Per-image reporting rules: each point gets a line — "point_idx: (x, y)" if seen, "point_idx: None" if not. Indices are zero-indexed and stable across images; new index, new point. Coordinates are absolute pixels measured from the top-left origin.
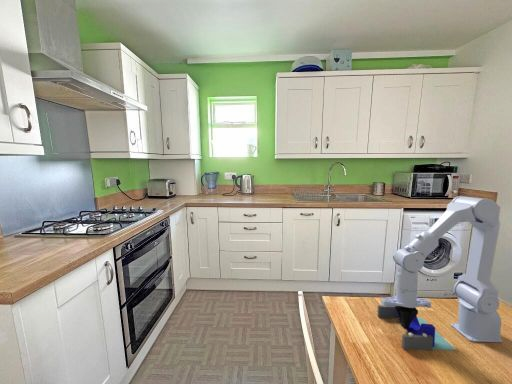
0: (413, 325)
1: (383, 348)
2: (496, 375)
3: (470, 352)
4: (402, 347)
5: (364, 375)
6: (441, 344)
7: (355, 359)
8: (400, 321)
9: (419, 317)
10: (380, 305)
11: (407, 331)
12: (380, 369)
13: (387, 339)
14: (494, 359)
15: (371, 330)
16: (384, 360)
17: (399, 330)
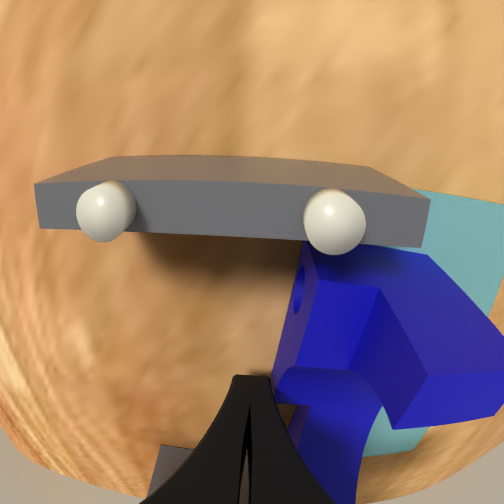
0: (338, 392)
1: (79, 429)
2: (408, 491)
3: (450, 444)
4: (161, 448)
5: (31, 458)
6: (386, 437)
7: (4, 426)
8: (227, 398)
9: None
10: (64, 190)
11: (272, 375)
12: (64, 464)
13: (105, 403)
14: (479, 448)
15: (35, 334)
16: (76, 455)
17: (219, 357)
